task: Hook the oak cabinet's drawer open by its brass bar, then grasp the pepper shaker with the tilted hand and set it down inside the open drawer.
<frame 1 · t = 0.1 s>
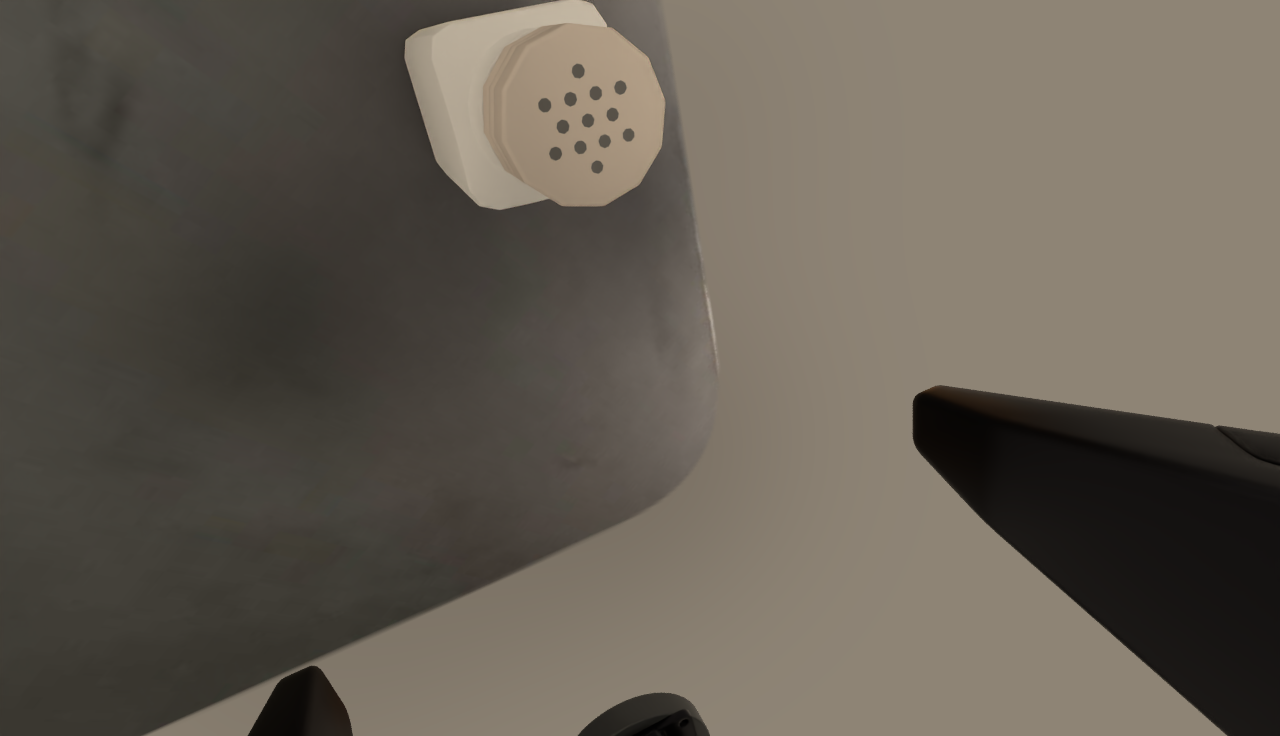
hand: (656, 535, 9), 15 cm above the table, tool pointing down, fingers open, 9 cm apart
pepper shaker: (483, 94, 21), on the table
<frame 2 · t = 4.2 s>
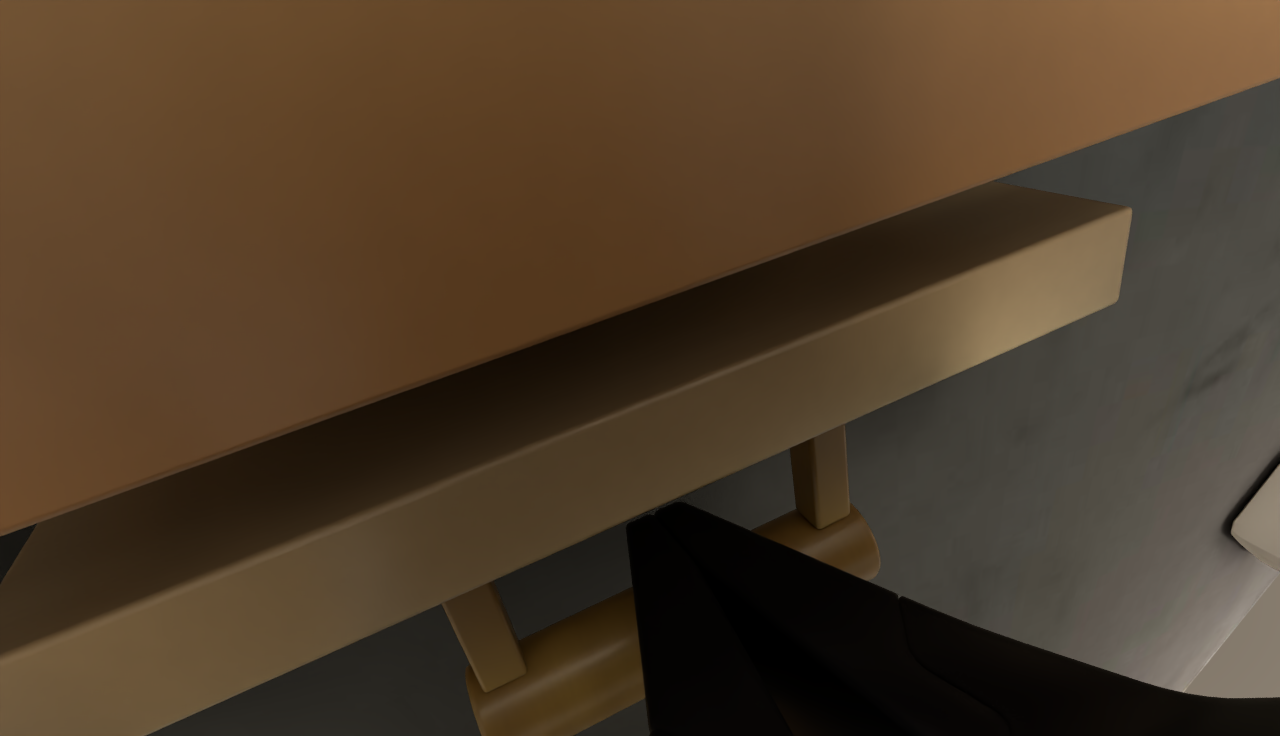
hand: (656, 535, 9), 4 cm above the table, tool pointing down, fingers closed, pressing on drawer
pepper shaker: (1261, 498, 26), on the table
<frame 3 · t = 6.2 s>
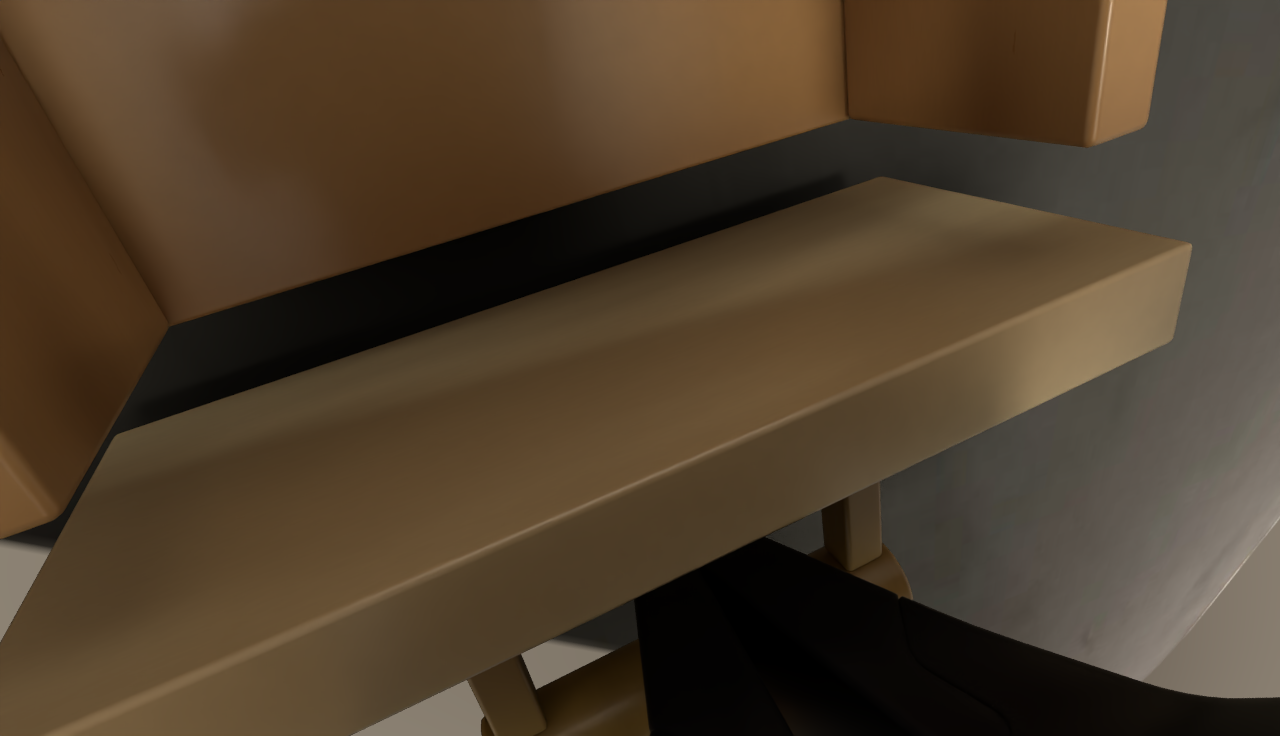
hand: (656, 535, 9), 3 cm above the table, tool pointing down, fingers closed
drawer: (536, 7, 6), point 3 cm above the table, slide at 10.3 cm
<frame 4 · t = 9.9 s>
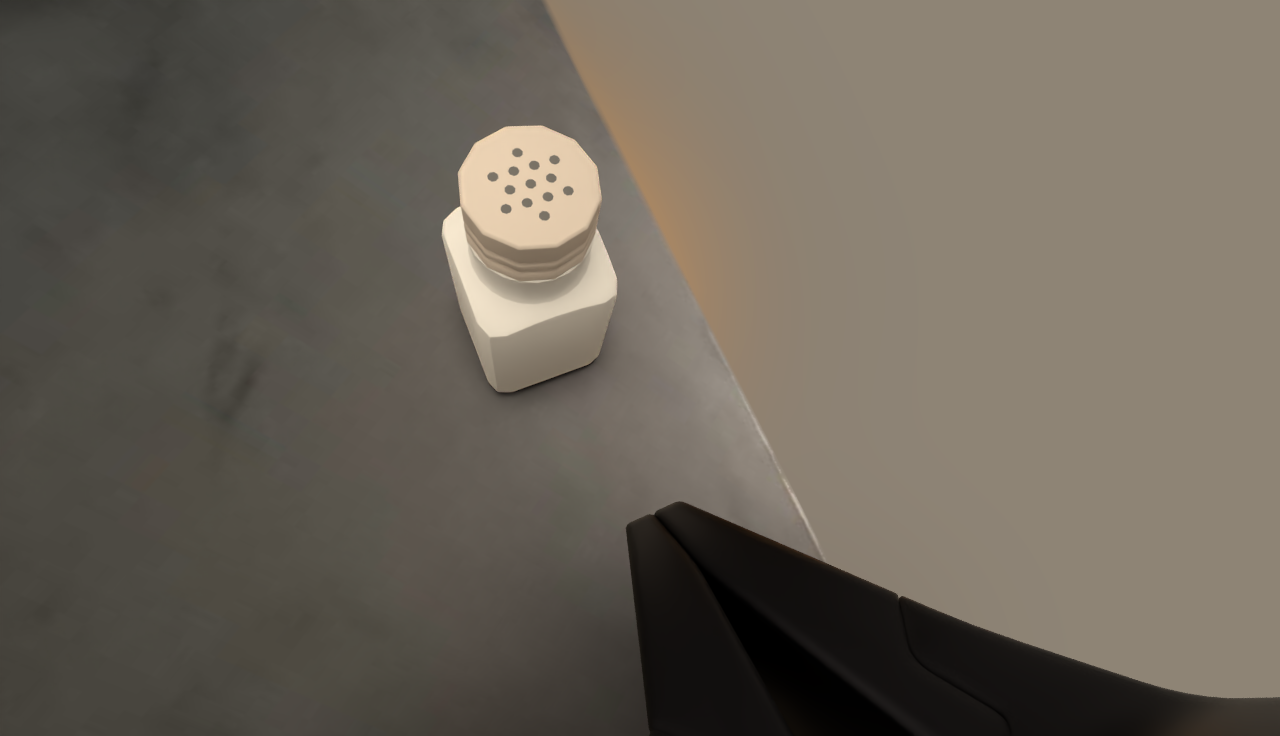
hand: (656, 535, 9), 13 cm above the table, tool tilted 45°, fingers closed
pepper shaker: (530, 334, 24), on the table
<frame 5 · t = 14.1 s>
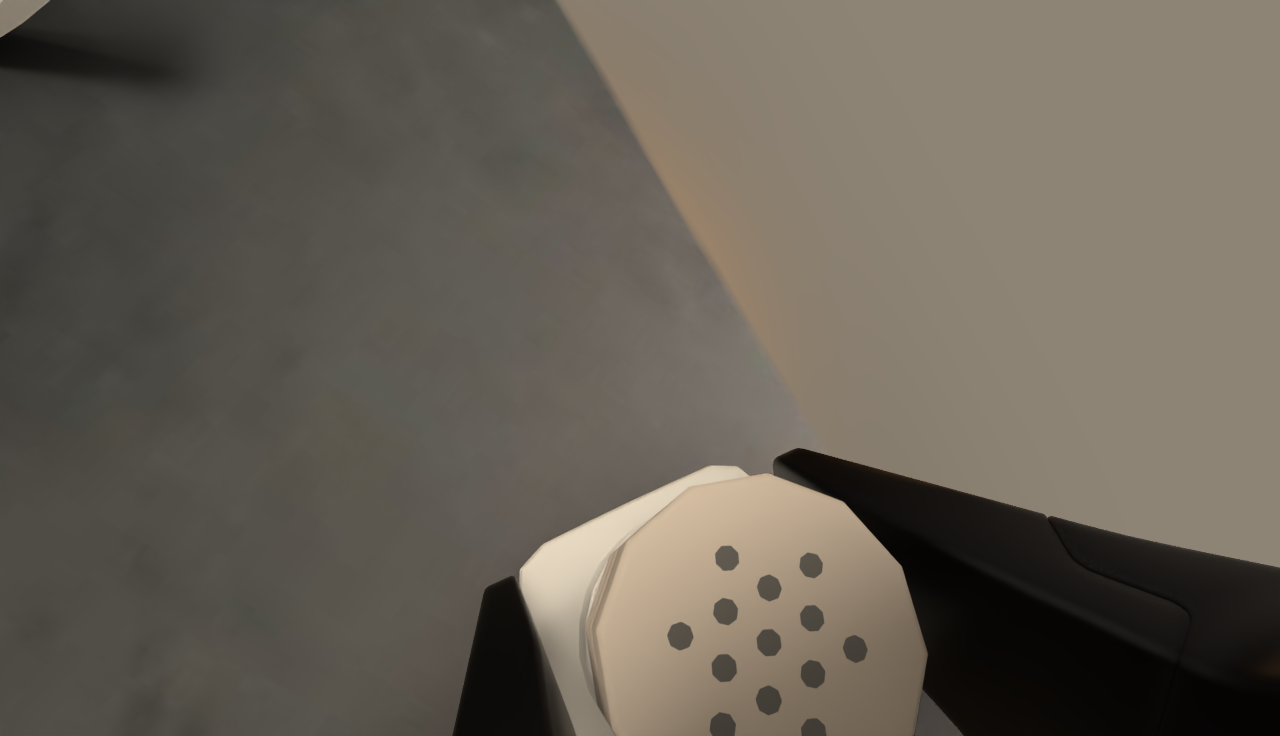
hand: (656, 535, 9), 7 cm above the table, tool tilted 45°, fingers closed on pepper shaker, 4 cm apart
pepper shaker: (633, 624, 15), on the table, touching gripper
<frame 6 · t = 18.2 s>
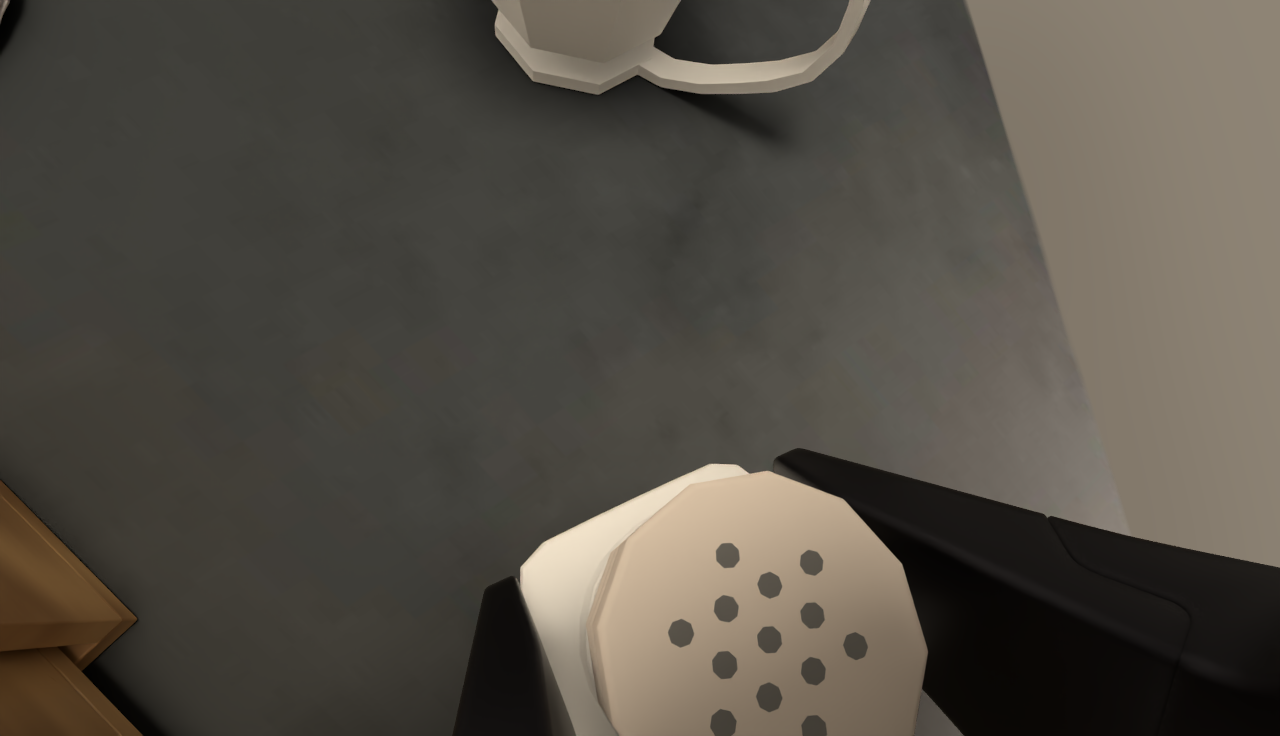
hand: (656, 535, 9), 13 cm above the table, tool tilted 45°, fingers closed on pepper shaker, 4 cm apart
pepper shaker: (634, 622, 15), point 7 cm above the table, touching gripper
cup: (625, 58, 29), on the table
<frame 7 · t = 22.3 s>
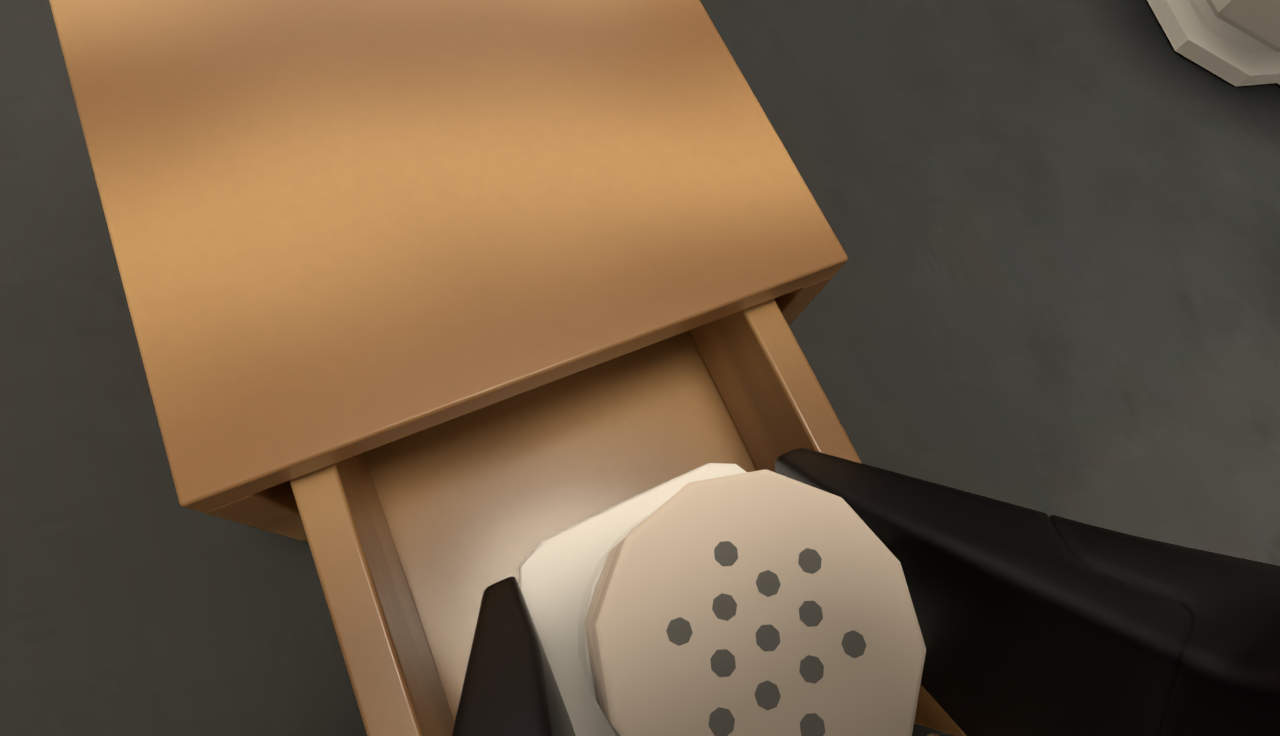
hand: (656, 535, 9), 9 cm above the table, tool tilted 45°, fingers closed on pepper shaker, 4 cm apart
drawer: (682, 717, 14), point 3 cm above the table, slide at 10.1 cm, touching pepper shaker
pepper shaker: (633, 622, 15), point 2 cm above the table, touching drawer, gripper
cup: (1262, 65, 28), on the table
cabinet: (458, 223, 20), on the table
when the fingers open (9 cm above the table, at t = 22.4 s): pepper shaker stays where it is, resting on drawer.
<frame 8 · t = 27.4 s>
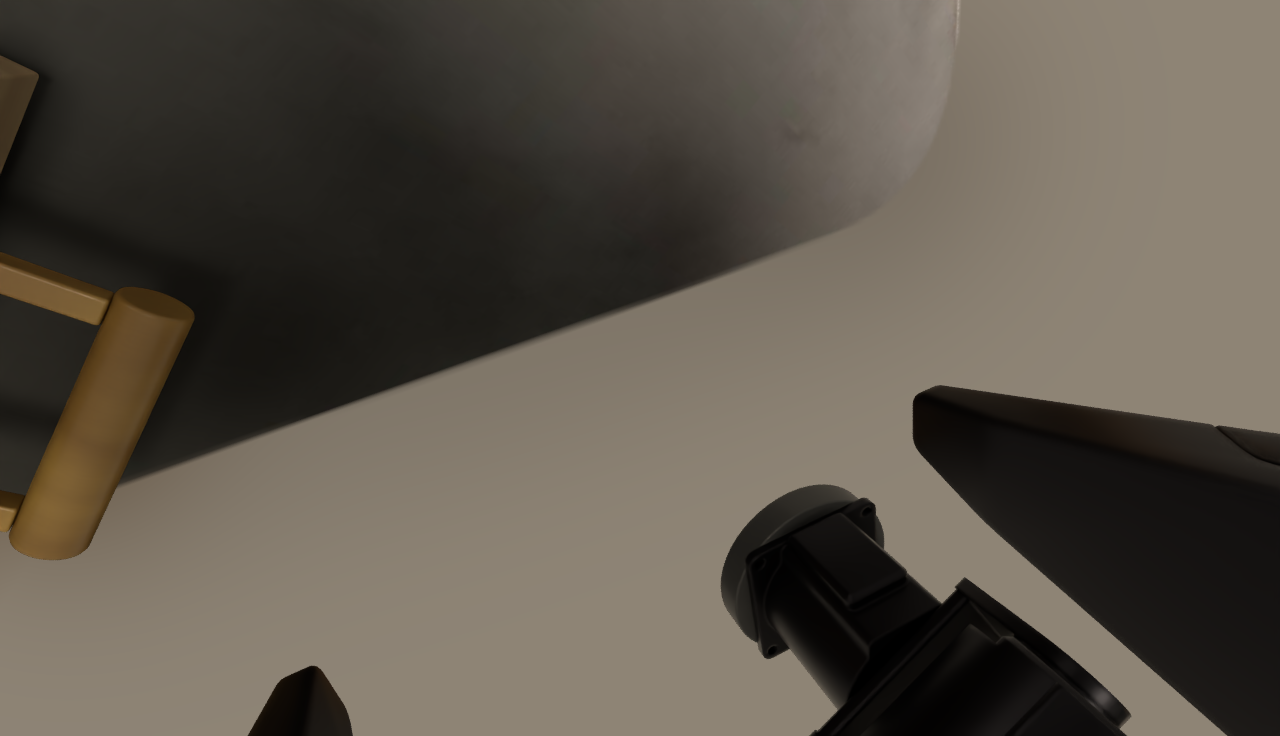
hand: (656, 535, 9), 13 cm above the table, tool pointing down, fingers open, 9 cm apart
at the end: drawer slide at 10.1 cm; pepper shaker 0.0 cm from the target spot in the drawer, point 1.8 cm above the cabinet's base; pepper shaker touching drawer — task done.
